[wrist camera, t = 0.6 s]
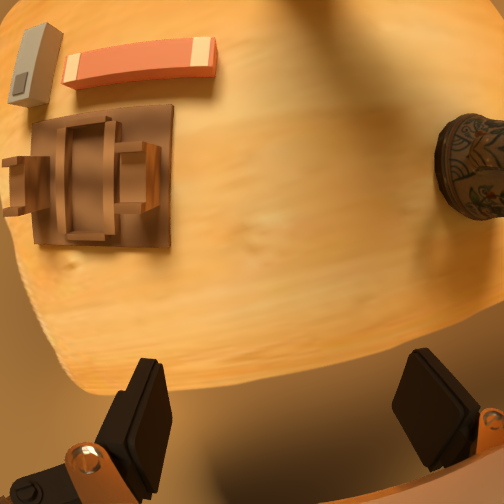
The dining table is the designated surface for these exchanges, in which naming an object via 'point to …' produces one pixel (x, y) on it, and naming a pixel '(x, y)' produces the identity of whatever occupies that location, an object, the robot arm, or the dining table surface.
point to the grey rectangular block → (35, 66)
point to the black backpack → (472, 166)
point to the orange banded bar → (142, 62)
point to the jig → (97, 178)
